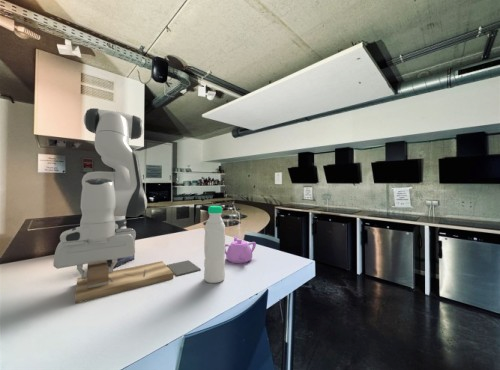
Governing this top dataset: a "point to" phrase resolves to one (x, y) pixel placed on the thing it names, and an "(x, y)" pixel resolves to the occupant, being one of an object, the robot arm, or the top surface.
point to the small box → (121, 260)
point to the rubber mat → (183, 268)
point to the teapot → (239, 251)
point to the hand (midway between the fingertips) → (97, 275)
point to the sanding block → (97, 274)
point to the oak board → (124, 281)
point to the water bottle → (214, 246)
